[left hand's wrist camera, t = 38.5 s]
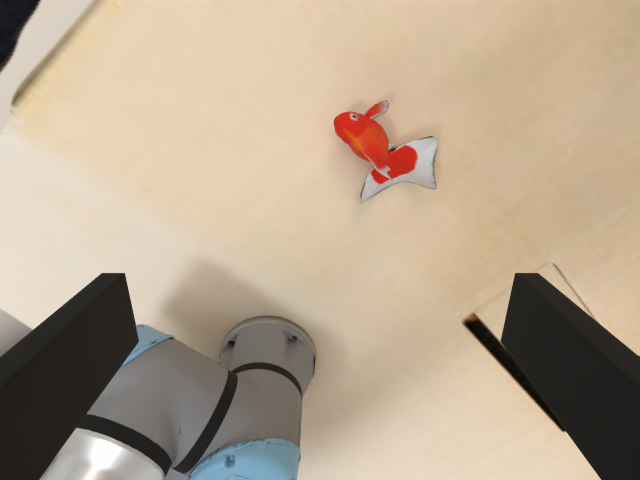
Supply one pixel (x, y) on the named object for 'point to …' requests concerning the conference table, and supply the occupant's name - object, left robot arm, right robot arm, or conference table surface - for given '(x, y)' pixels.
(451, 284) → the conference table surface
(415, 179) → the fish
